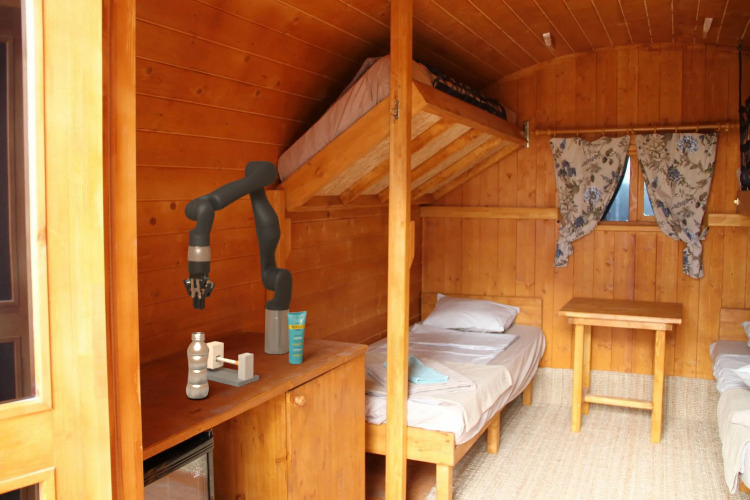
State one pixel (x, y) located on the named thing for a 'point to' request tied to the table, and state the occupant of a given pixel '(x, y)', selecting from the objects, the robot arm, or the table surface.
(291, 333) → the tube
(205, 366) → the plastic bottle
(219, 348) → the sleeve
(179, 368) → the table surface
